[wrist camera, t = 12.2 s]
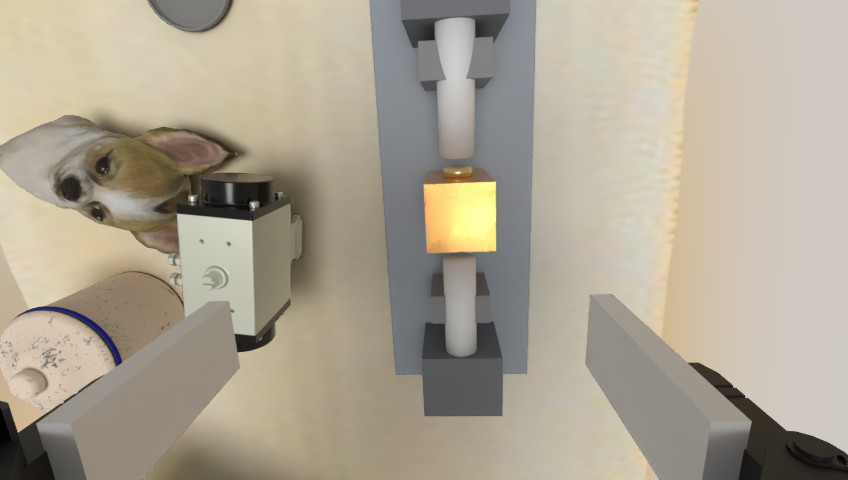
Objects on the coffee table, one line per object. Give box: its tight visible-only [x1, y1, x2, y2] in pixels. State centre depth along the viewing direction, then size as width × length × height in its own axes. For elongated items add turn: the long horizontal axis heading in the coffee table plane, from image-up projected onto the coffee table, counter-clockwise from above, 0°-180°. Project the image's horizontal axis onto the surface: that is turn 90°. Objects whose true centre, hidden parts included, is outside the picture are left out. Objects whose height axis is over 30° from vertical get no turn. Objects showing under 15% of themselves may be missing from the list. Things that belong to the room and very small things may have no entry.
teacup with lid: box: [0, 272, 185, 413], centre depth 33 cm, size 12×9×12 cm
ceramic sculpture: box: [0, 115, 239, 254], centre depth 31 cm, size 11×9×15 cm
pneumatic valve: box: [168, 173, 302, 352], centre depth 30 cm, size 6×12×12 cm, turn 175°
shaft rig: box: [370, 0, 536, 416], centre depth 30 cm, size 32×12×9 cm, turn 3°
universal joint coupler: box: [424, 165, 496, 253], centre depth 29 cm, size 6×4×8 cm
